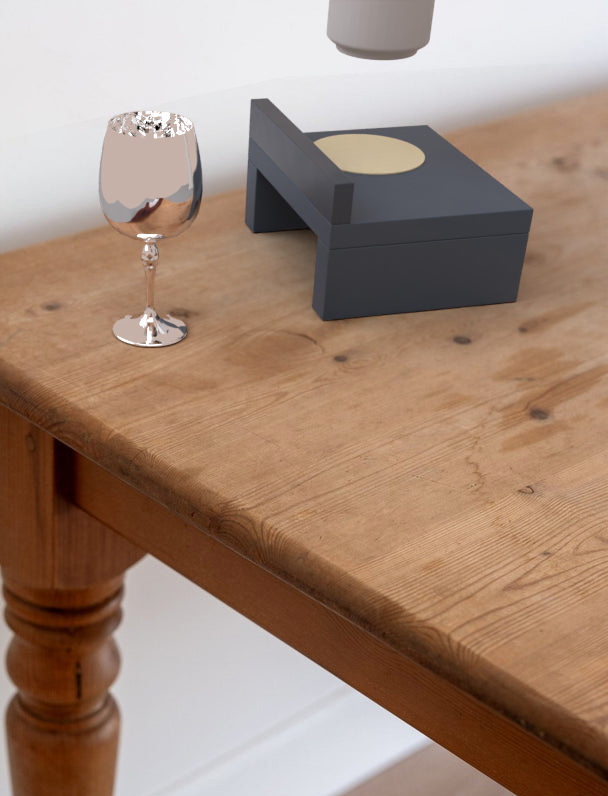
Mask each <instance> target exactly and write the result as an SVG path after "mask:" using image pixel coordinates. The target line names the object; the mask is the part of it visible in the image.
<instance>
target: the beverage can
mask: <svg viewBox="0 0 608 796" xmlns="http://www.w3.org/2000/svg"><path fill="white" fill-rule="evenodd" d="M435 2H436V0H328V11H327V21H326V37H327V38H328V39H329V41H331V42H332V43H333V44H334V45H335V48H336V50H337V51H338V52H339V53H341V54H343V55H345V56H348V57H352V58H356V59H362V60H368V61H369V60H370V61H398V60H405V59H408V58H411V57H413V56H415V55H416V54H417V52H418V51H420V50H421V49H423V48H425V47H426V46H428V44H429V43H430V39H431V33H432V26H433V20H434V19H433V18H434V11H435Z"/></svg>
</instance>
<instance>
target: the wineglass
mask: <svg viewBox="0 0 608 796" xmlns="http://www.w3.org/2000/svg"><path fill="white" fill-rule="evenodd" d="M199 146H200V145H199V140H198V136H197V133H196V130H195V125H194V122H193V121H192V120H191V119H190V118H189V117H186V116H183V115H180V114H177V113H173V112H167V111H161V110H136V111H129V112H123V113H120V114H118V115H115V116H112V117H111V118H110V119H109V120H108V121H107V124H106V128H105V133H104V137H103V142H102V146H101V152H100V157H99V158H100V159H99V165H98V175H97V176H98V179H97V182H98V183H97V186H98V189H97V190H98V198H99V203H100V208H101V211H102V214H103V217H105V219H106V221H107V222H108V224H109V225H110V226H111V227H112V228H113V230H115V231H117V232H118V233H119V234H121V235H122V236H124V237H127V238H129V239H132V240H135V241H139V242H144V243H145V244H144V245H143V247H142V250H141V257H140V258H141V262H142V267H143V270H144V275H145V284H146V285H145V286H146V289H145V291H146V292H145V307H144V310H143V312H141V311H140V312H135V313H131V314H127V315H125V316H122V317H120V318H119V319H117V320H116V321H114V323H113V324H112V328H111V331H112V334H113V335H114V337H115V338H117V339H118V340H119V341H121V342H122V343H125V344H128V345H131V346H136V347H143V348H158V347H166V346H170V345H173V344H176V343H178V342H180V341H182V340H183V339H185V337H186V336H187V334H188V326H187V325H186V323H185V322H184V321H183V320H182V319H180V318H178V317H177V316H174V315H171V314H168V313H163V312H157V310H156V306H155V278H156V273H157V267H158V265H159V260H160V253H159V249H158V246H157V245H156V243H158V242H164V241H169V240H171V239H173V238H175V237H178V236H180V235H182V234H183V233H185V232H186V231H187V230H188V229H190V227H191V226H192V225H193V224H194V222H195V221H196V219H197V217H198V215H199V213H200V209H201V205H202V199H203V192H204V191H203V190H204V175H203V174H204V173H203V166H202V165H203V164H202V159H201V153H200V147H199Z"/></svg>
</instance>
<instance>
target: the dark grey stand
mask: <svg viewBox="0 0 608 796" xmlns="http://www.w3.org/2000/svg"><path fill="white" fill-rule="evenodd" d="M249 105H250V107H249V124H248V125H249V129H248V150H247V168H246V169H247V171H246V188H245V189H246V190H245V208H244V209H245V211H244V223H245V225H246V226H247V227H248V228H249V230H250V231H251V232H252V233H253V234H255V233H267V232H277V231H278V232H280V231H291V230H305V229H310V230H311V231H312V232H313V233H314V234H315V236H317V243H316V255H315V267H314V278H313V291H312V300H311V301H312V302H311V308H312V309H313V310H314V312H315V313H316V314H317V315H318V317H319V318H320V319H321V320H322V321H332V320H342V319H352V318H362V317H363V318H364V317H372V316H383V315H393V314H402V313H412V312H414V313H415V312H423V311H433V310H444V309H455V308H463V307H474V306H484V305H493V304H494V305H495V304H505V303H514V302H517V299H518V294H519V289H520V283H521V280H522V279H521V278H522V273H523V268H524V263H525V258H526V253H527V247H528V241H529V236H530V231H531V226H532V220H533V216H534V212H535V211H534V208H533V207H532V206H530V205H529V204H528V203H527V202H526V201H524V200H523V199H522V198H521V197H519V196H518V195H517V194H516V193H514V192H513V191H512V190H510V189H509V188H508V187H507V186H505V185H504V184H503V183H501V182H500V181H499V180H498V179H497V178H495V177H494V176H493V175H491V173H489V172H487V170H485V169H484V168H482V167H481V166H480V165H479V164H478V163H476V162H475V161H473V160H472V159H471V158H470V157H468V156H467V155H466V154H465V153H464V152H462V151H461V150H460V149H459V148H457V147H456V146H454V145H453V144H452V143H451V142H450V141H448V140H447V139H445V138H444V137H443V136H442V135H440V133H439V132H436V131H435V130H434V129H433V128H431V127H430V126H429V125H428V124H421V125H406V126H405V125H404V126H388V127H371V128H356V129H355V128H354V129H340V130H339V129H337V130H323V131H306V132H303V131H302V130H301V129H300V128H299V127H298V126H297V125H296V124H295V123H294V122H293V121H292V120H291V119H290V118H288V116H286V114H285V113H284V112H283V111H281V110H280V109H279V108H278V106H276V105H275V104H274V103H273V102H272V101H271V100H270V98H267V97H266V98H265V97H263V98H262V97H261V98H251V99H250V104H249Z"/></svg>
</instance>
